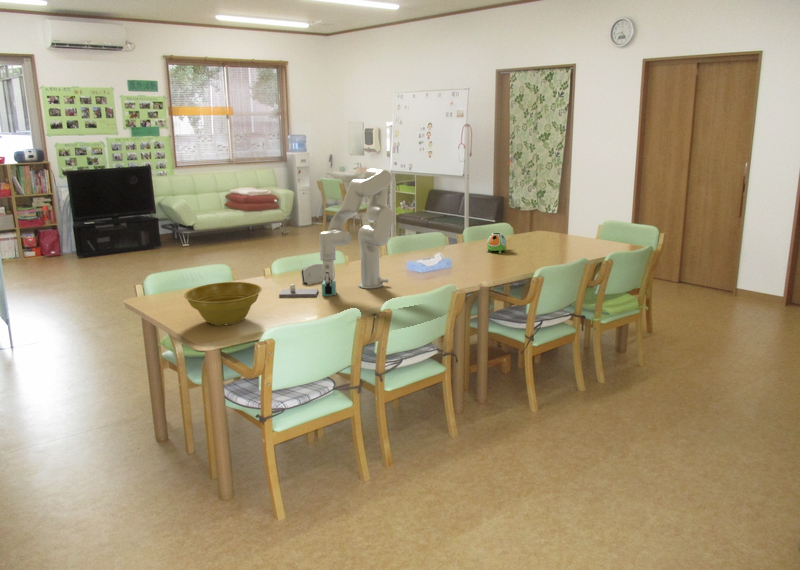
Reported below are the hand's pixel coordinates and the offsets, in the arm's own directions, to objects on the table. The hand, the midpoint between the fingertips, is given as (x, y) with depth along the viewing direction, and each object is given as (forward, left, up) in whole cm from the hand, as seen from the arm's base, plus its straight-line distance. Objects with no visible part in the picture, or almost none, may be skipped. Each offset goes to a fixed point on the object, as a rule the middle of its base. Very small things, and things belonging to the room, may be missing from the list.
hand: (329, 291), depth 324 cm
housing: (0, 0, -1) cm, 1 cm away
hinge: (+10, -28, -2) cm, 29 cm away
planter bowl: (+41, +42, -1) cm, 59 cm away
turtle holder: (-99, -100, -1) cm, 141 cm away
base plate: (+15, 0, -1) cm, 15 cm away
